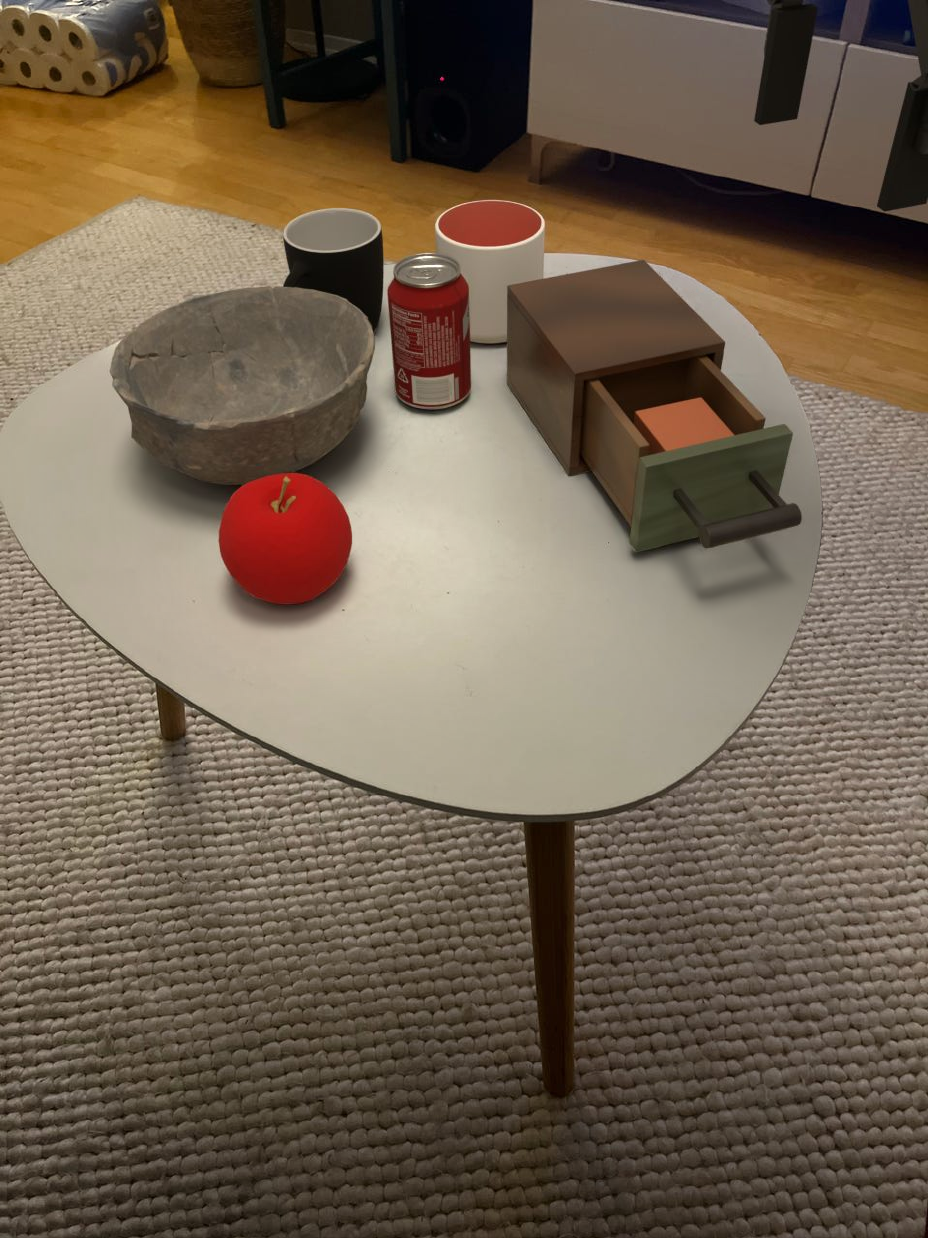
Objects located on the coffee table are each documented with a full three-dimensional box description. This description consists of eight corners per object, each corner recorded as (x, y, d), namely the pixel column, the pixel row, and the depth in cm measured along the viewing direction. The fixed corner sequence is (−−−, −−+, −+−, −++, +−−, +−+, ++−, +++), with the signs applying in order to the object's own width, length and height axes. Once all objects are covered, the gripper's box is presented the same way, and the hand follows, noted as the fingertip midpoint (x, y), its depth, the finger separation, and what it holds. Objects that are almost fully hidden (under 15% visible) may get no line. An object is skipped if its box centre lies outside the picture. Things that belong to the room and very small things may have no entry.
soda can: (463, 418, 92) (460, 290, 84) (388, 412, 93) (376, 285, 85) (477, 376, 97) (475, 251, 89) (405, 370, 98) (395, 246, 90)
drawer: (815, 566, 77) (839, 479, 71) (671, 604, 74) (685, 517, 69) (691, 421, 90) (703, 339, 84) (565, 450, 87) (569, 367, 82)
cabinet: (708, 444, 89) (725, 341, 82) (569, 476, 86) (574, 373, 80) (634, 356, 99) (643, 258, 92) (506, 383, 96) (507, 284, 89)
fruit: (257, 644, 74) (231, 534, 67) (213, 568, 80) (185, 459, 72) (377, 597, 77) (365, 487, 70) (327, 527, 83) (311, 419, 75)
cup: (550, 301, 106) (553, 203, 99) (531, 354, 100) (534, 252, 92) (452, 292, 108) (449, 195, 101) (428, 343, 101) (422, 243, 94)
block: (725, 496, 81) (736, 436, 77) (658, 512, 80) (667, 452, 76) (692, 455, 85) (701, 396, 81) (628, 470, 83) (634, 410, 80)
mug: (338, 297, 108) (326, 199, 101) (408, 322, 104) (401, 221, 97) (256, 350, 101) (238, 248, 94) (328, 378, 97) (314, 275, 90)
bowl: (329, 360, 100) (316, 259, 93) (427, 478, 87) (420, 371, 80) (110, 424, 93) (78, 321, 86) (180, 562, 80) (149, 453, 73)
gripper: (1216, -288, 41) (1026, 236, 56) (853, -329, 58) (781, 83, 73) (1056, -275, 40) (904, 260, 55) (730, -321, 57) (682, 98, 72)
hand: (833, 160), depth 64 cm, fingers open, 13 cm apart
